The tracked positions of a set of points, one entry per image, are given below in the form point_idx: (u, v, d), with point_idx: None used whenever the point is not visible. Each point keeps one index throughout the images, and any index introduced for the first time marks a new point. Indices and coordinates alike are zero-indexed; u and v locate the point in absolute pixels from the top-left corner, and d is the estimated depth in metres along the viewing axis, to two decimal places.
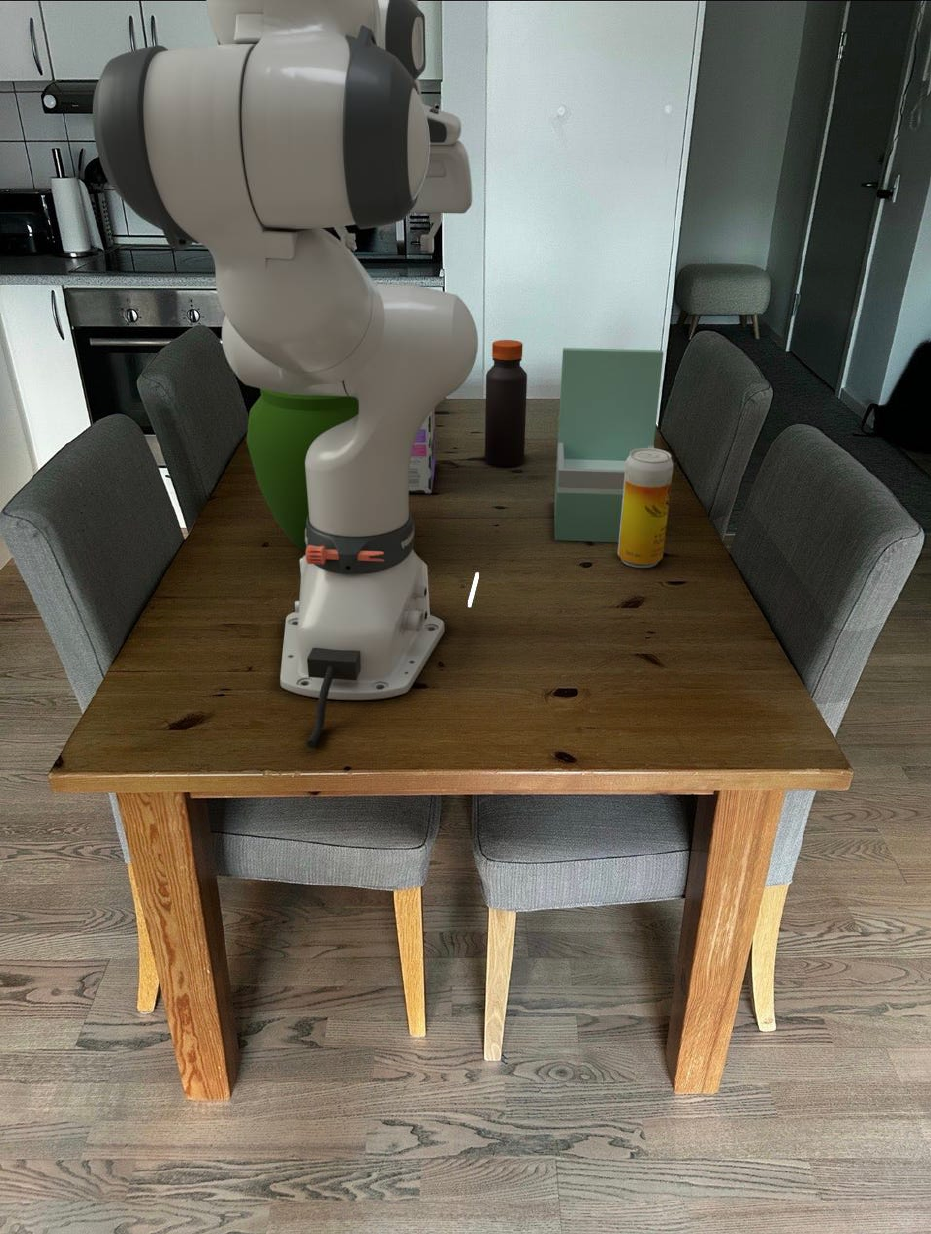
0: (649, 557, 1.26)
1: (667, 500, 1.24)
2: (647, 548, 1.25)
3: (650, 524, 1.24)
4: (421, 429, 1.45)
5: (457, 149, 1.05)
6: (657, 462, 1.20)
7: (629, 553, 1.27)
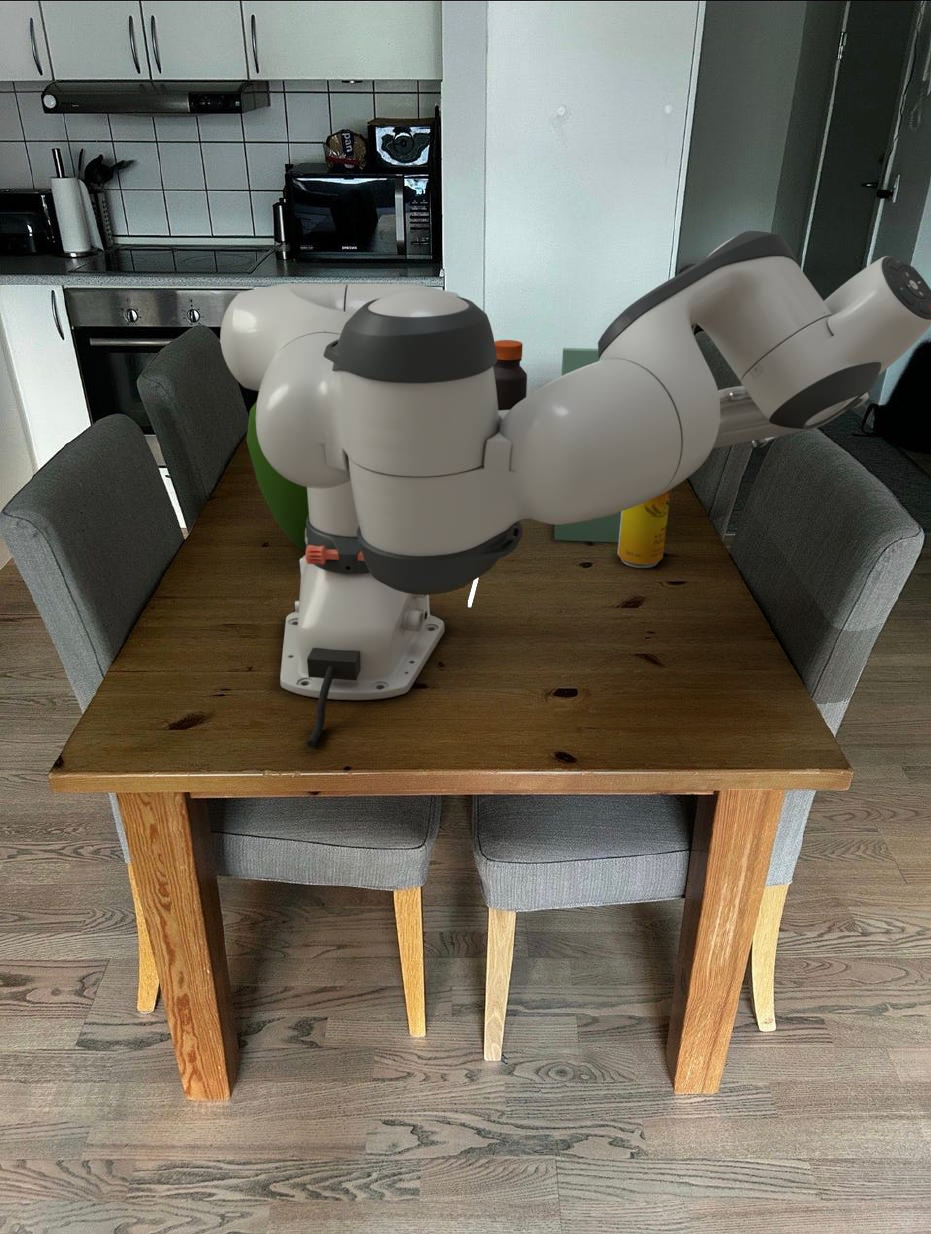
0: (649, 557, 1.26)
1: (667, 500, 1.24)
2: (647, 548, 1.25)
3: (650, 524, 1.24)
4: None
5: None
6: None
7: (629, 553, 1.27)
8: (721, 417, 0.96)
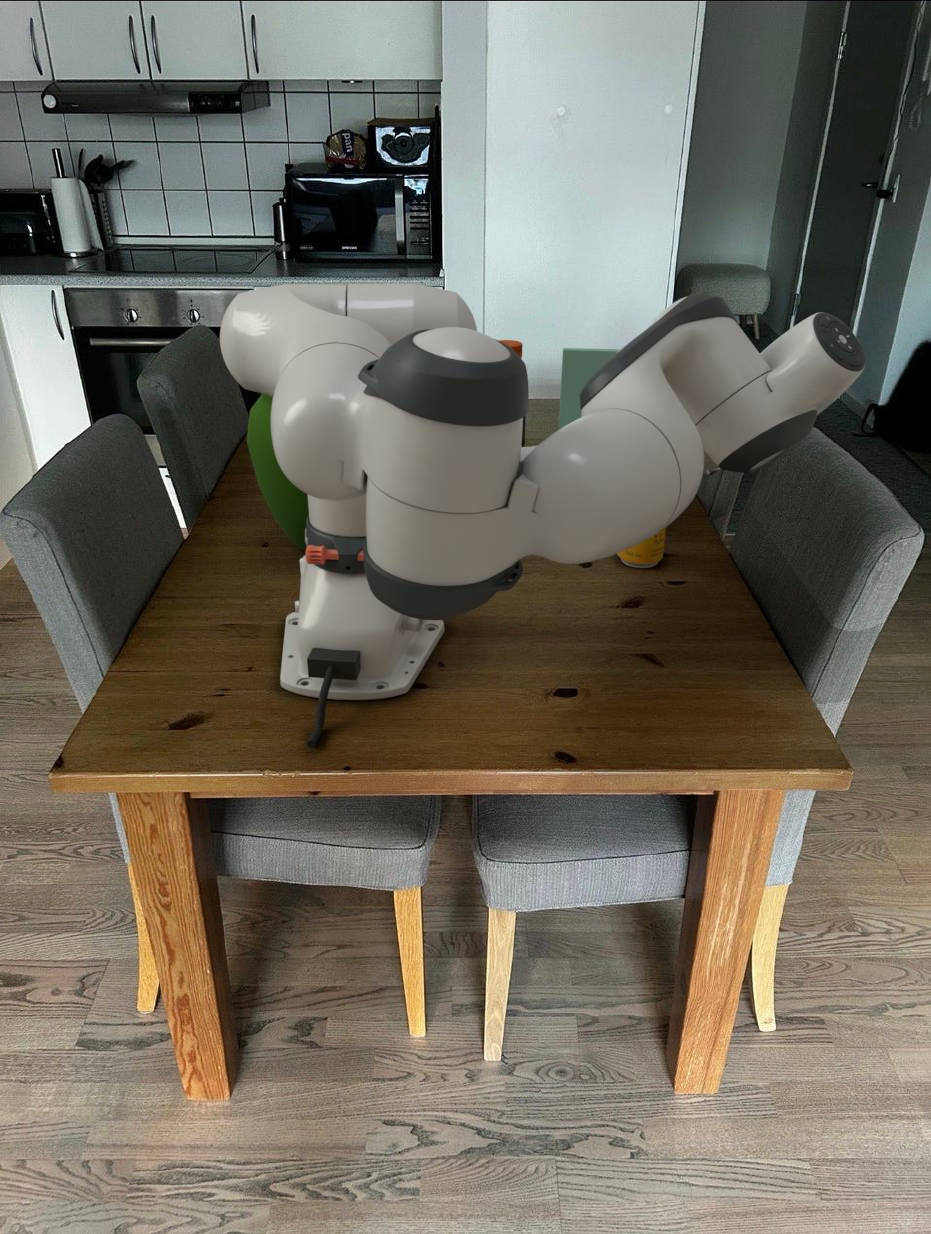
0: (649, 557, 1.26)
1: None
2: (647, 548, 1.25)
3: None
4: None
5: None
6: None
7: (629, 553, 1.27)
8: None
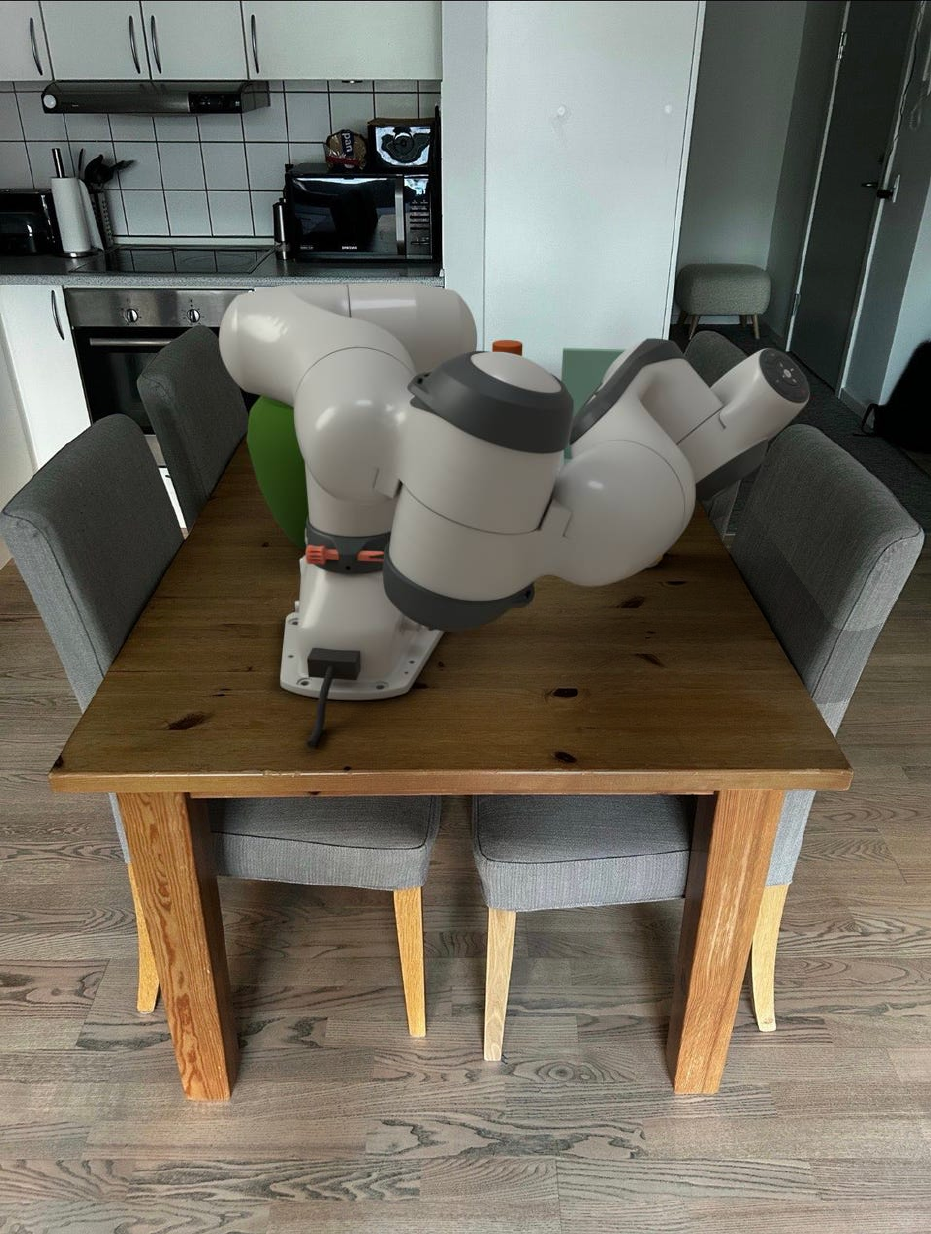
0: None
1: None
2: None
3: None
4: None
5: None
6: None
7: None
8: None
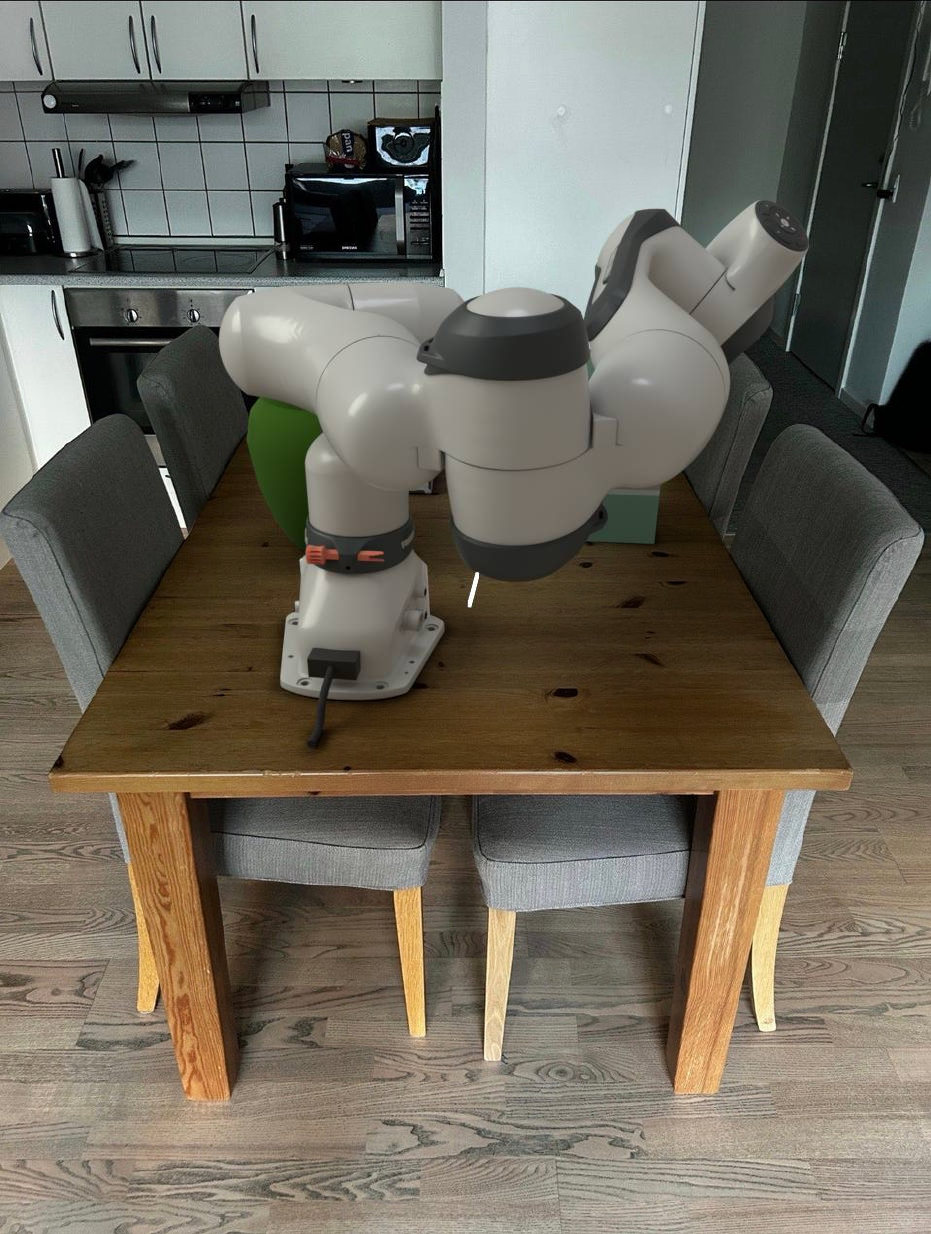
0: None
1: None
2: None
3: None
4: None
5: None
6: None
7: None
8: None
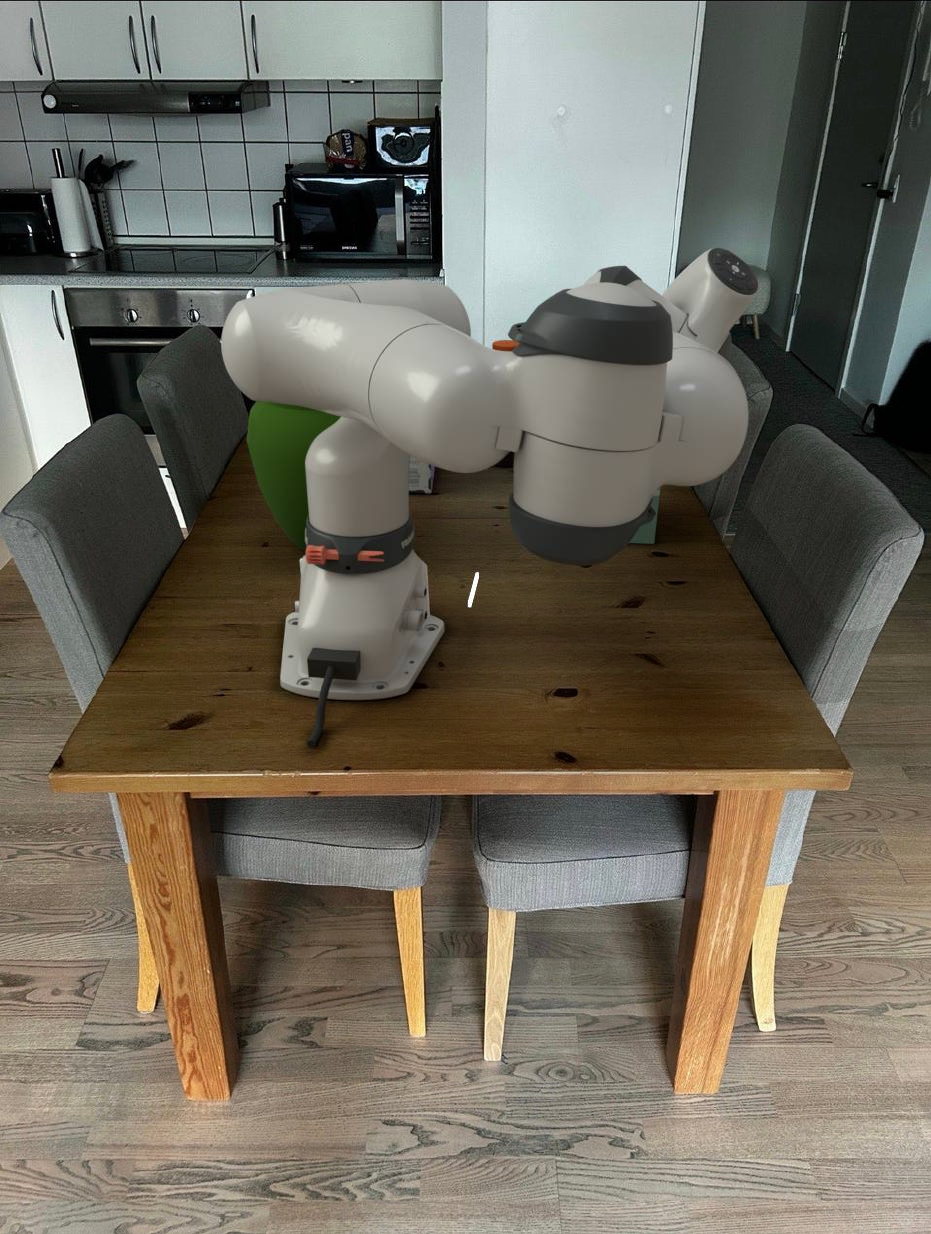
0: None
1: None
2: None
3: None
4: None
5: None
6: None
7: None
8: None
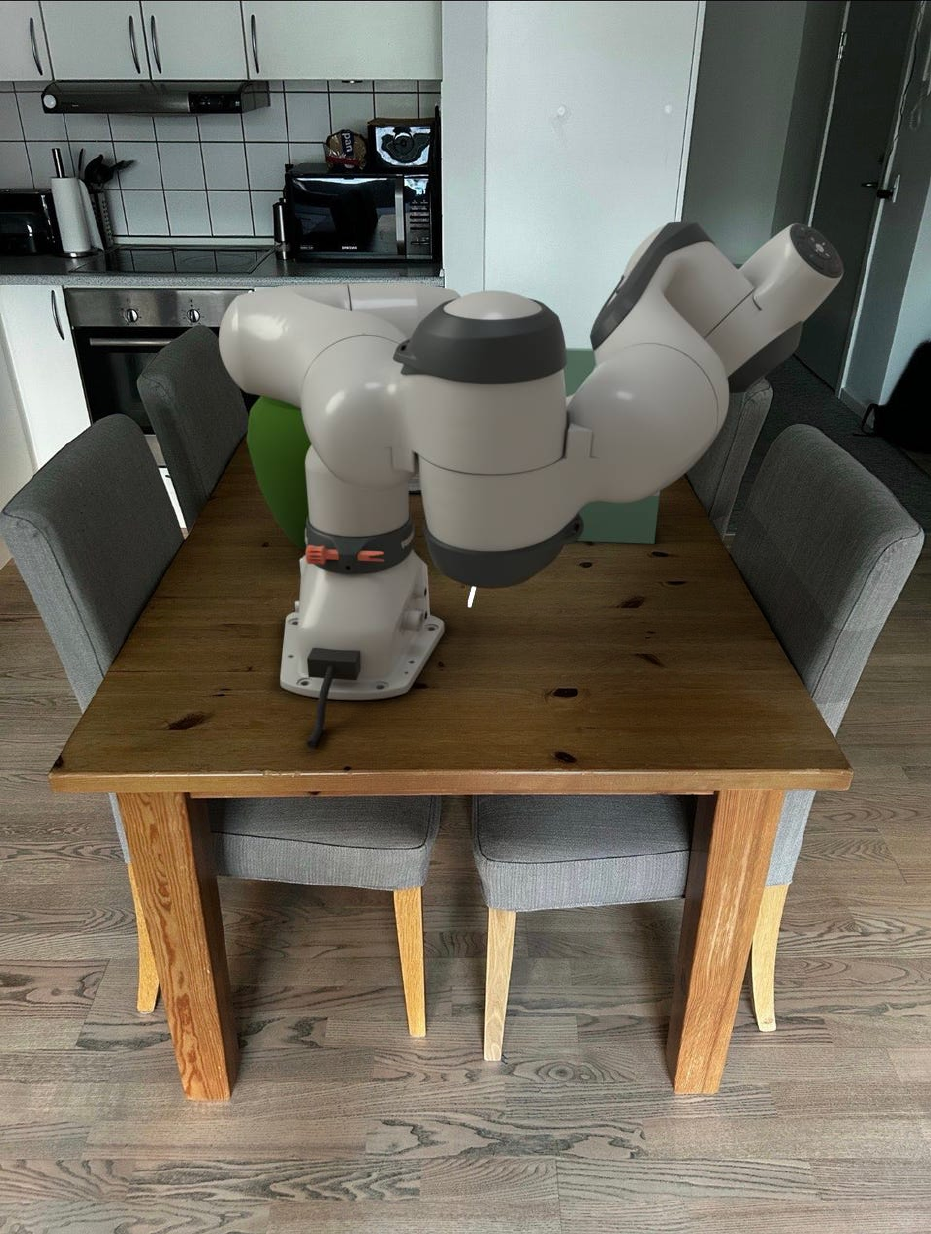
0: None
1: None
2: None
3: None
4: None
5: None
6: None
7: None
8: None
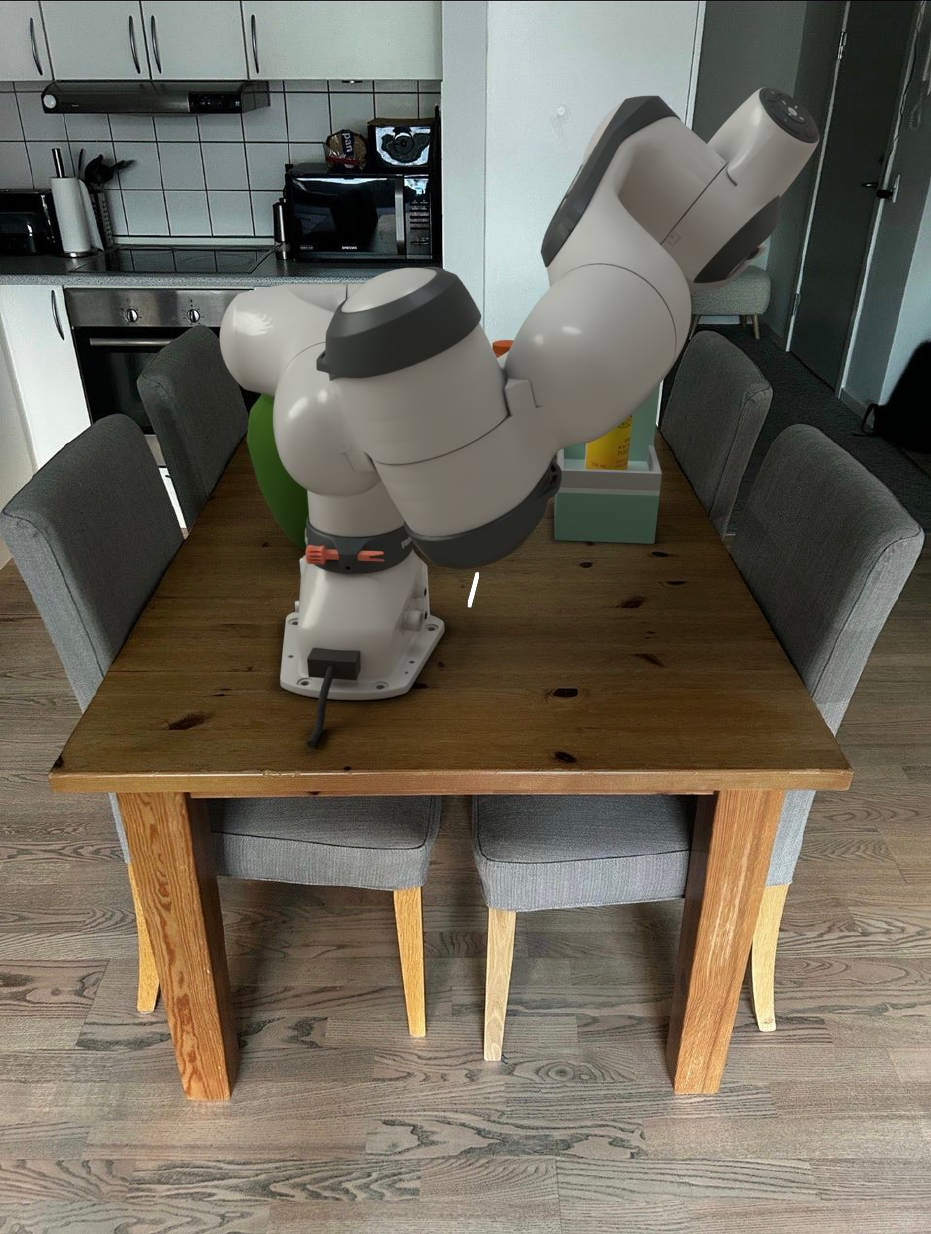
0: (613, 468, 1.33)
1: None
2: (611, 459, 1.32)
3: (614, 435, 1.31)
4: None
5: None
6: None
7: (594, 464, 1.33)
8: None
